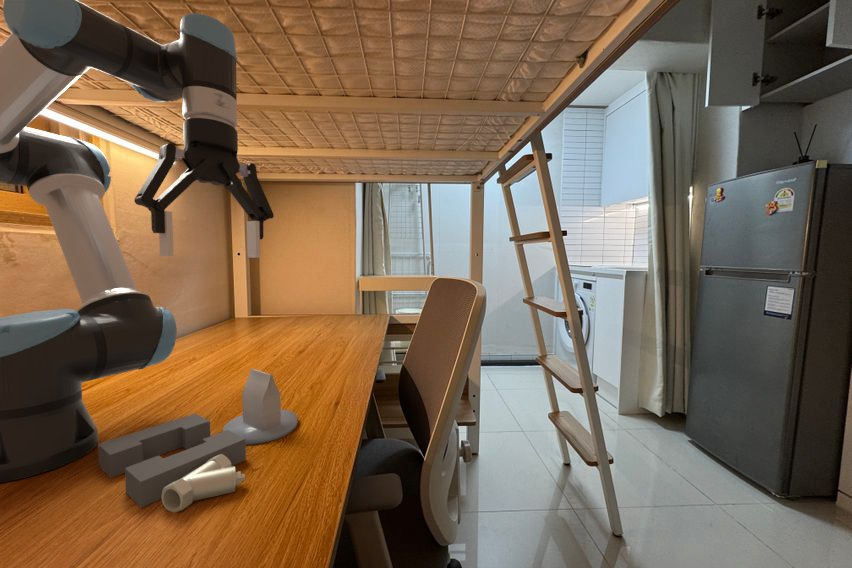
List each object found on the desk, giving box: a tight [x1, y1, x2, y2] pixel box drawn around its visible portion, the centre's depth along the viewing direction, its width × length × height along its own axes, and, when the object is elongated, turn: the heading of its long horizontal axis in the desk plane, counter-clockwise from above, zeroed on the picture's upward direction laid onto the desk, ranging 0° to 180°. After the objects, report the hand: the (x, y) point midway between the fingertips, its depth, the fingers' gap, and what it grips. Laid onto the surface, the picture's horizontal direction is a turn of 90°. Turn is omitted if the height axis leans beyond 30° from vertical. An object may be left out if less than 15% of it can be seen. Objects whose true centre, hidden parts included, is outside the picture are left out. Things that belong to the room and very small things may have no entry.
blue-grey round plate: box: [222, 409, 298, 446], centre depth 70 cm, size 13×13×1 cm
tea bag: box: [241, 368, 282, 431], centre depth 70 cm, size 4×7×10 cm, turn 55°
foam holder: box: [97, 413, 247, 509], centre depth 58 cm, size 17×14×4 cm
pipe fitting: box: [161, 454, 246, 513], centre depth 50 cm, size 8×4×7 cm
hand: (214, 257), depth 60 cm, fingers open, 13 cm apart
